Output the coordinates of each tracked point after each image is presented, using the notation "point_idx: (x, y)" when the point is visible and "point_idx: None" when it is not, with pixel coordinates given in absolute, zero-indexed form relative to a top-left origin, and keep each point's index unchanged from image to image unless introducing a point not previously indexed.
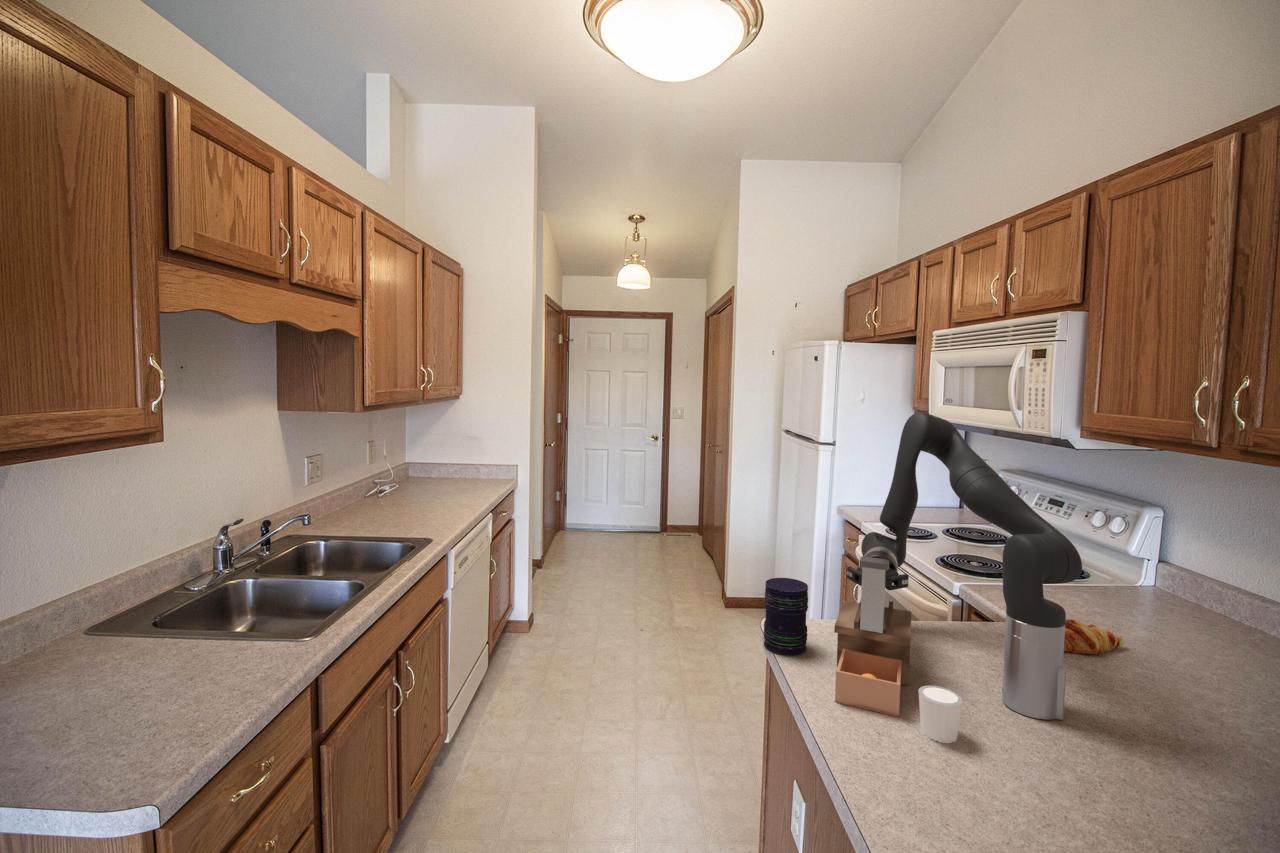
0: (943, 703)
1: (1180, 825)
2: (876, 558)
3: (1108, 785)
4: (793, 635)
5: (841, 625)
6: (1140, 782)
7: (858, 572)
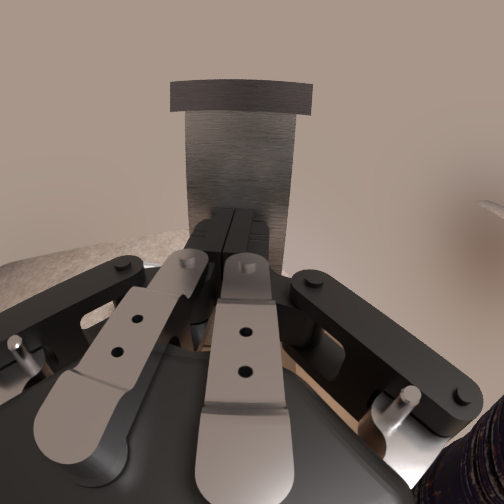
0: (147, 264)
1: (34, 264)
2: (232, 79)
3: (39, 286)
4: (439, 453)
5: (326, 332)
6: (13, 294)
7: (352, 303)
